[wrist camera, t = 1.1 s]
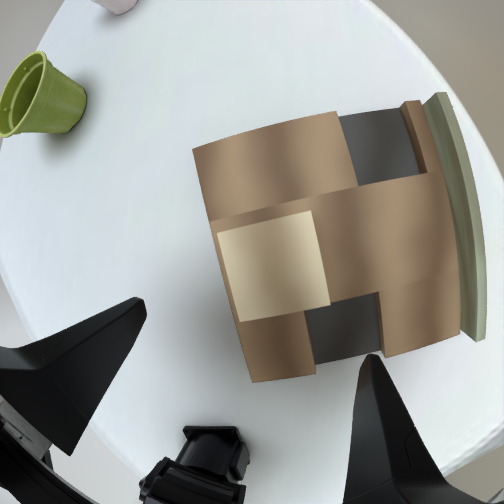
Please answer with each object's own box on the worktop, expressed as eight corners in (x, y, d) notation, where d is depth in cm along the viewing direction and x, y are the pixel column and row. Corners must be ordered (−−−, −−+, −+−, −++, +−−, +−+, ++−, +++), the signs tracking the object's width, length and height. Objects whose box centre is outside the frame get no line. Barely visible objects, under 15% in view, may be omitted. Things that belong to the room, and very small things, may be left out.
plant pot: (39, 147, 27) (-12, 139, 18) (59, 79, 25) (13, 60, 16) (84, 148, 25) (24, 135, 17) (108, 70, 24) (58, 41, 15)
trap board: (256, 371, 25) (245, 402, 20) (200, 153, 23) (176, 140, 18) (459, 323, 21) (484, 343, 16) (421, 107, 19) (443, 86, 14)
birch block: (249, 305, 22) (239, 322, 19) (230, 230, 21) (216, 233, 18) (326, 290, 21) (330, 304, 17) (309, 211, 20) (310, 210, 17)
